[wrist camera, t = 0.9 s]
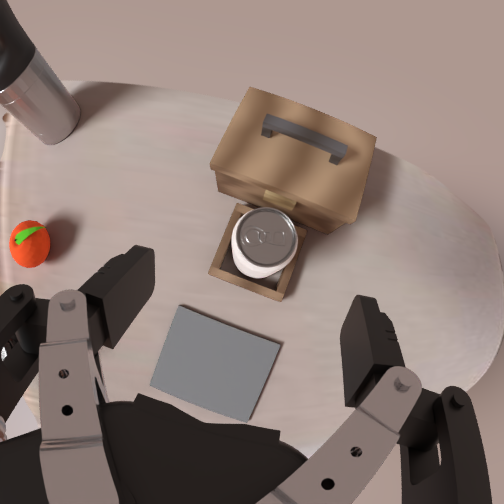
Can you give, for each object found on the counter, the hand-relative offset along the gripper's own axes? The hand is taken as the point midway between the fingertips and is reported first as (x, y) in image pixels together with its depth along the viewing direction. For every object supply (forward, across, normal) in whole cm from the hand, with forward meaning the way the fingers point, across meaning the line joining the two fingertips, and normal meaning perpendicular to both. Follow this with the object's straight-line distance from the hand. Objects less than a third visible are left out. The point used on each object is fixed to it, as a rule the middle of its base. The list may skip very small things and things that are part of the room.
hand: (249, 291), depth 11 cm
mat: (+15, +4, +24) cm, 29 cm away
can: (+25, +1, +12) cm, 28 cm away
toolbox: (+29, 0, +7) cm, 30 cm away
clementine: (+19, +34, +15) cm, 41 cm away
